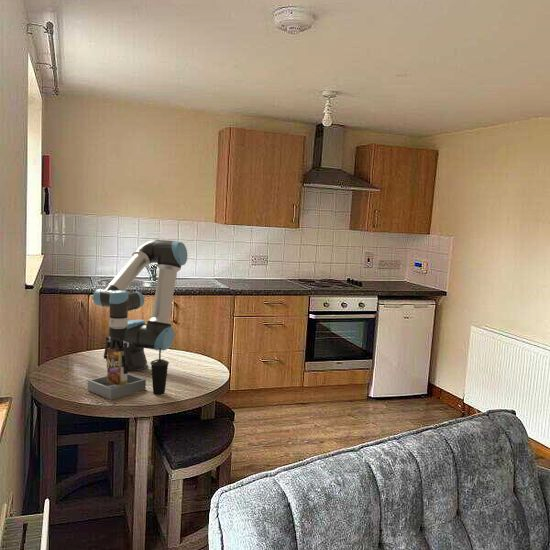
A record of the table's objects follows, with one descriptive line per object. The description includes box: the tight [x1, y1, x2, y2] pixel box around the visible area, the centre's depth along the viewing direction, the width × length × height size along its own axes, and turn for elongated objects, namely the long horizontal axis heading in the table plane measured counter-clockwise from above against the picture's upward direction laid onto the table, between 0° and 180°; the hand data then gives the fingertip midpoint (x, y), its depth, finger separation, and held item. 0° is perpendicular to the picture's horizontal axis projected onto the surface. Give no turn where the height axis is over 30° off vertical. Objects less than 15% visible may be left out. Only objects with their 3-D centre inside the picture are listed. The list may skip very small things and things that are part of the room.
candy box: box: [106, 348, 127, 386], centre depth 231 cm, size 9×4×15 cm, turn 55°
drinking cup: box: [150, 348, 170, 396], centre depth 230 cm, size 8×8×20 cm
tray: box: [87, 372, 147, 401], centre depth 232 cm, size 16×18×4 cm
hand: (117, 378), depth 232 cm, fingers closed on candy box, 9 cm apart
